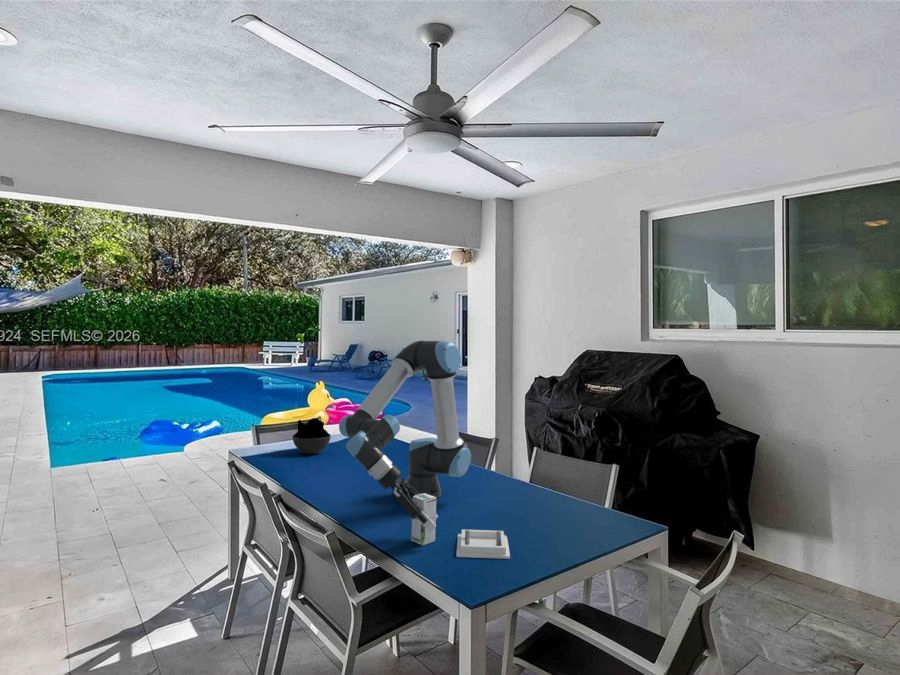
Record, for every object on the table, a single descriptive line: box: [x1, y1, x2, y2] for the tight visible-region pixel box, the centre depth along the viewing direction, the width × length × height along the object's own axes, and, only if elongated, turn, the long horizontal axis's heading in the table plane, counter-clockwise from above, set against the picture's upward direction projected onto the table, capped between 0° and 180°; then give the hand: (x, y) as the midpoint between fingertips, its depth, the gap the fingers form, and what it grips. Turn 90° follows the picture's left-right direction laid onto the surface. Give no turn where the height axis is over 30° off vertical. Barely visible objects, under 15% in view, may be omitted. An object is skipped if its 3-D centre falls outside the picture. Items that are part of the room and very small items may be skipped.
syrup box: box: [411, 493, 437, 547], centre depth 170 cm, size 6×6×14 cm
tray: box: [456, 529, 511, 560], centre depth 166 cm, size 16×16×5 cm
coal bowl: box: [292, 417, 332, 455], centre depth 287 cm, size 20×20×19 cm
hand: (434, 524), depth 170 cm, fingers closed on syrup box, 8 cm apart
